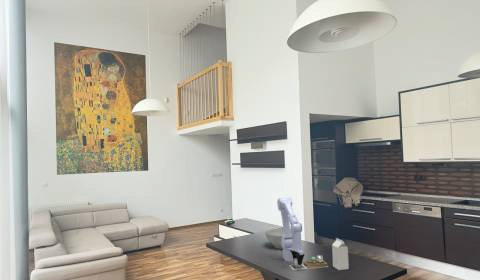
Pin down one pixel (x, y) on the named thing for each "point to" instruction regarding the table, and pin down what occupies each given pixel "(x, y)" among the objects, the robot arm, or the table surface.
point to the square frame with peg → (311, 259)
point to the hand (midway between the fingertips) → (297, 263)
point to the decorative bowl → (275, 237)
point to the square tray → (297, 269)
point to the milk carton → (340, 255)
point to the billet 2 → (319, 259)
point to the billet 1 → (296, 263)
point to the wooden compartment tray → (314, 264)
